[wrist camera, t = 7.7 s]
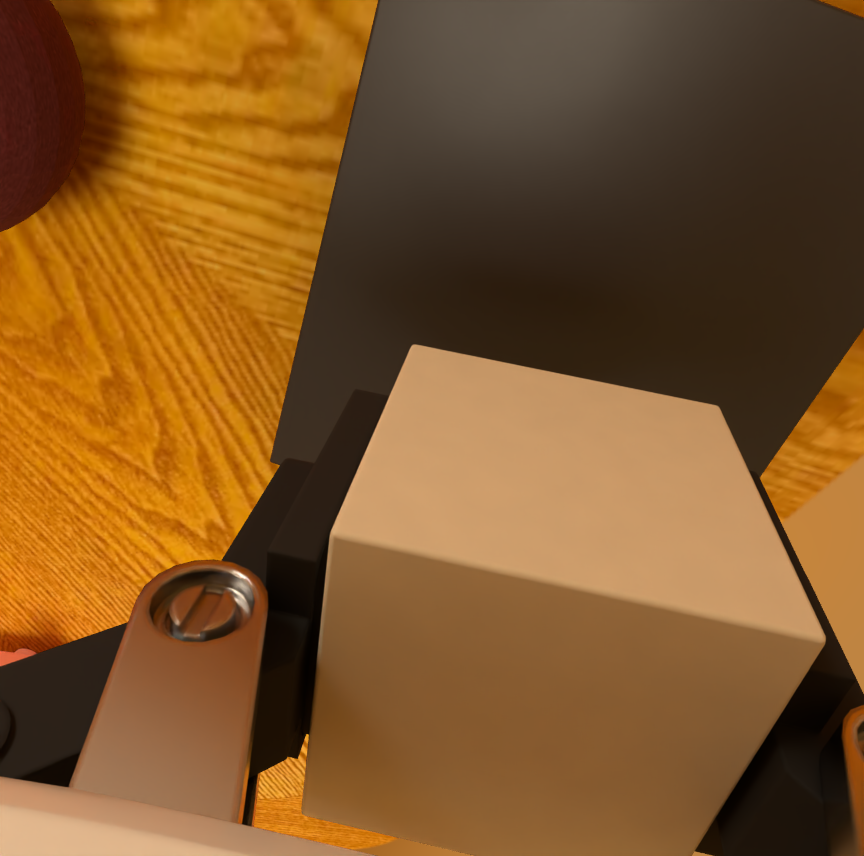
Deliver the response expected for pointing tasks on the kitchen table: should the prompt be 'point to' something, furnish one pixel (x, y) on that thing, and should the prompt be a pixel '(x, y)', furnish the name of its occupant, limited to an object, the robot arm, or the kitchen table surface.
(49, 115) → the decorative ball
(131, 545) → the kitchen table surface
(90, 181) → the kitchen table surface
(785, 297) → the cabinet
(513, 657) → the block
